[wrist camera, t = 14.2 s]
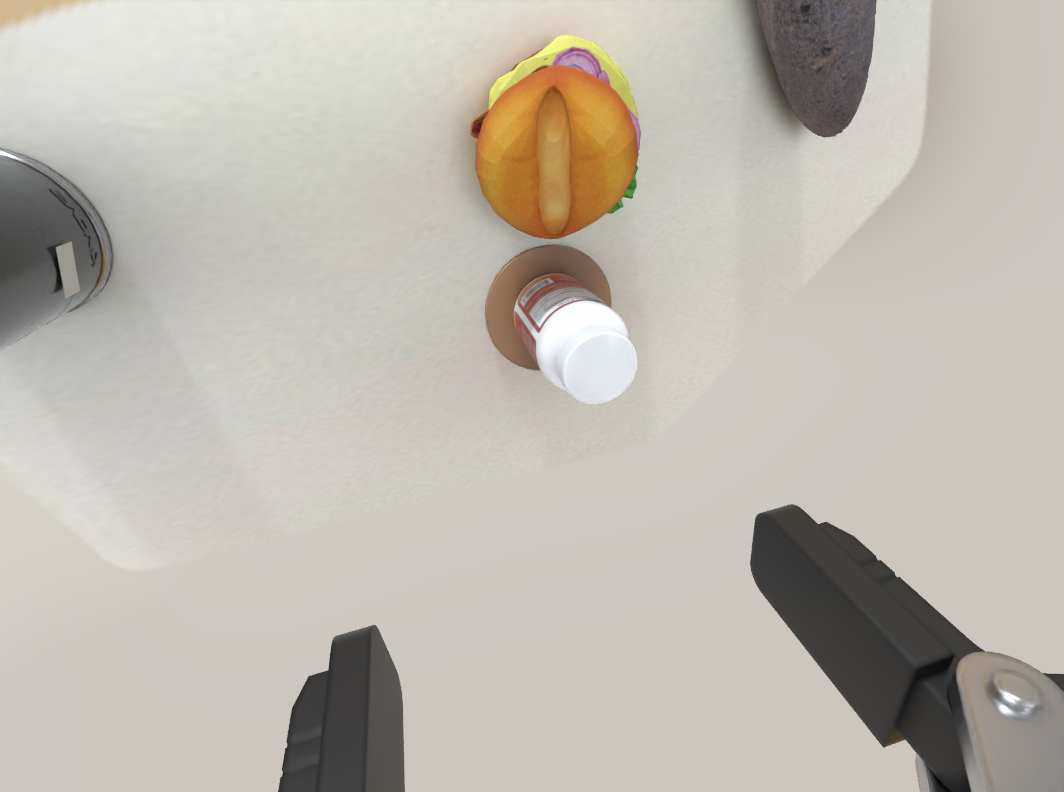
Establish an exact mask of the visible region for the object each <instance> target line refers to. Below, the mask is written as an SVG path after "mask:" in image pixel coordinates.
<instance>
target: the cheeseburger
mask: <svg viewBox="0 0 1064 792" xmlns="http://www.w3.org/2000/svg"><path fill="white" fill-rule="evenodd" d="M471 135H472V136H473V137H475V138H478V140H477V143H476V172H477V175H478V179H479V182H480V185H481V189H482V192H483V195H484V196H485V198H486V199H487V200H488V202H489V203H490V205H491V206H492V208H493V209H494V211H495V212H496V213H497V214H498V215H499V216H500V217H502V218H503V219H504V220H505V221H506V222H507V223H509V224H510V225H512V226H513V227H515V228H516V229H518V230H520V231H522V232H524V233H527V234H529V235H531V236H535V237H540V238H547V239H556V238H561V237H564V236H567V235H569V234H572V233H574V232H576V231H579V230H581V229H583V228H584V227H586V226H588V225H589V224H591V223H593V222H595V221H596V220H597V219H599V218H600V217H601V216H603V215H604V214H605V213H613V212H615V211H616V210H618V209H619V208H621V207H623V204H622V201H621V198H622V197H626V198H631V199H632V198H633V193H634V191H635V188H636V186H637V185H636V178H635V175H636V172H637V169H638V167H637V165H636V164H637V159H638V155H639V154H638V151H639V145H640V135H641V132H640V127H639V122H638V115H637V109H636V106H635V103H634V100H633V97H632V94H631V89H630V86H629V83H628V79H627V78H626V76H625V75H624V74H623V72H622V71H621V69H620V68H619V66H618V65H616V64H615V63H614V62H613V61H612V60H611V58H610V56H609V55H608V53H607V52H606V51H604V50H603V49H602V48H601V47H599V46H598V45H597V44H594V43H592V42H590V41H587V40H585V39H582V38H579V37H576V36H573V35H559V36H558V37H557V38H555V39H554V40H553V41H552V42H551V43H550V44H549V45H548V46H547V47H545V48H544V49H542V50H540V51H538V52H537V53H535V54H533V55H532V56H530V57H528V58H527V59H525V60H523V61H522V62H520V63H518V64H517V65H515V66H514V67H513V69H512V70H511V72H509V73H507V74H506V75H504V76H502V77H500V78H498V79H497V81H496V82H495V84H494V85H493V87H492V88H491V90H490V93H489V109H488V110H486V111H485V112H483V113H481V114H480V115H479V116H477V117H476V118H475V119H474V120H473V121H472V124H471Z"/></svg>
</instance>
